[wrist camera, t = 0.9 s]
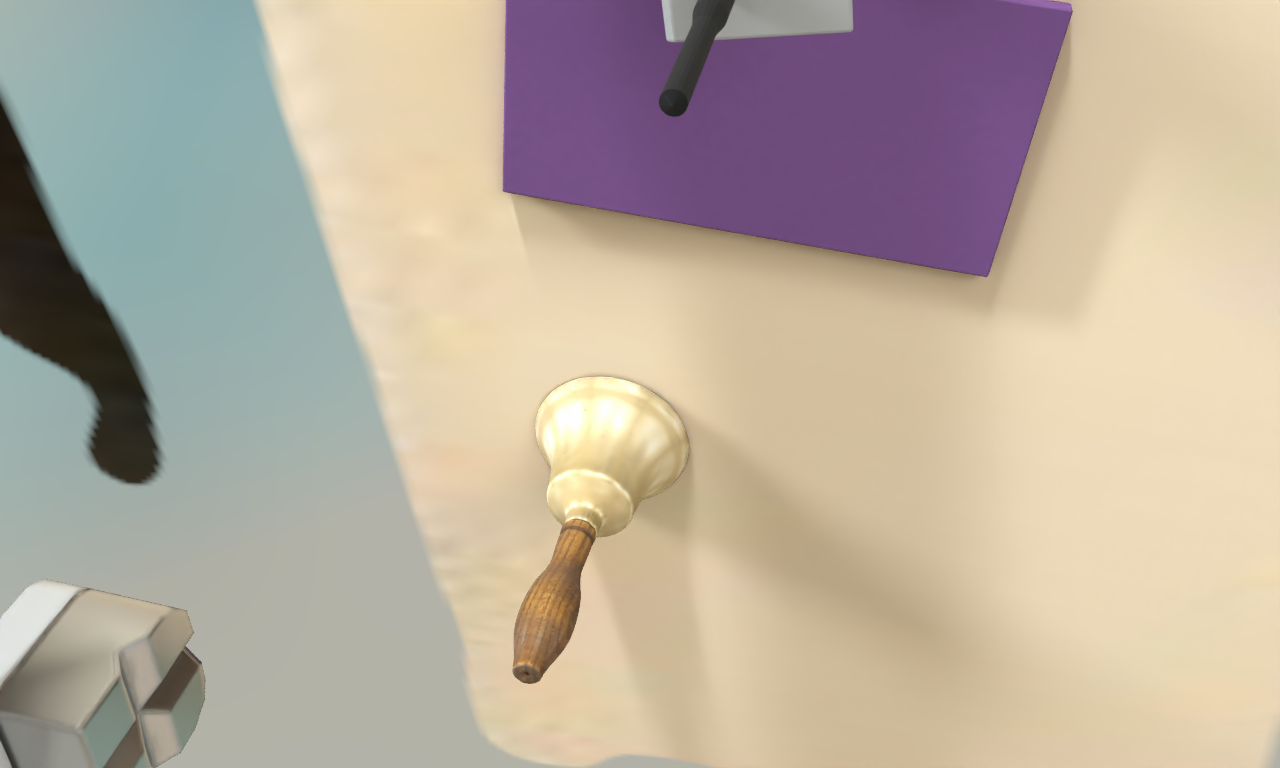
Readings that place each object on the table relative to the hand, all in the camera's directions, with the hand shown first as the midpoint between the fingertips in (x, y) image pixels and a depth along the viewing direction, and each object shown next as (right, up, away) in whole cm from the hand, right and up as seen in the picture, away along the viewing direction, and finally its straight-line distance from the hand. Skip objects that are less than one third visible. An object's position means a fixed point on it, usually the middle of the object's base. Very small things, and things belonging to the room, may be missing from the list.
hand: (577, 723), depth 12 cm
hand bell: (-1, +1, +51) cm, 51 cm away
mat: (+6, +15, +38) cm, 42 cm away
